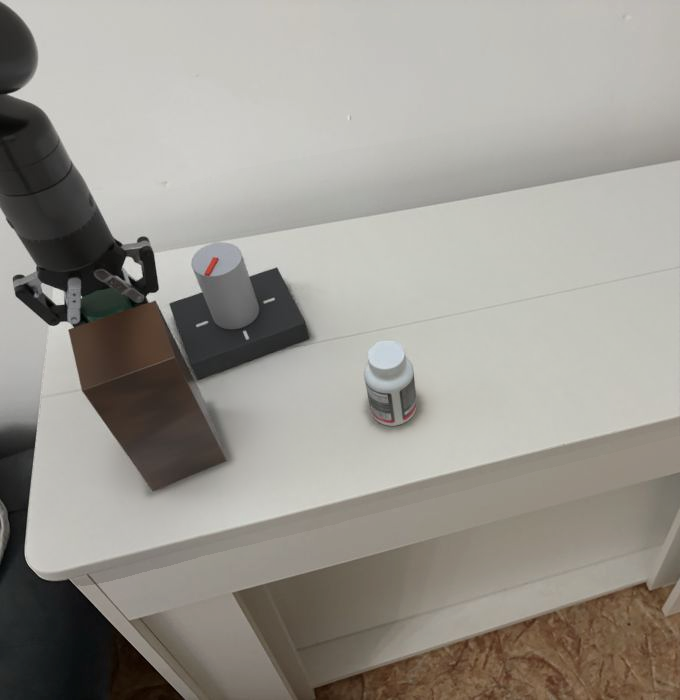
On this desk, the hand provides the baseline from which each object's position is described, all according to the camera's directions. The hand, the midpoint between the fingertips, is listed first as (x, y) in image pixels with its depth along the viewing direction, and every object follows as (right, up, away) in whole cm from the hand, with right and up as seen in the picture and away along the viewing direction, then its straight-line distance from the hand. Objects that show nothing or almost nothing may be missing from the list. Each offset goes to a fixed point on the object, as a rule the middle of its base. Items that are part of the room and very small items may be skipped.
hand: (119, 327), depth 81 cm
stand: (+8, -13, -2) cm, 16 cm away
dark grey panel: (+11, 0, +9) cm, 14 cm away
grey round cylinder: (+11, +2, +7) cm, 13 cm away
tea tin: (0, -2, +3) cm, 3 cm away
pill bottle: (+31, -9, +1) cm, 33 cm away
